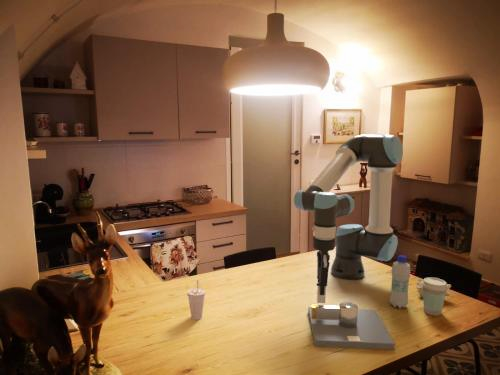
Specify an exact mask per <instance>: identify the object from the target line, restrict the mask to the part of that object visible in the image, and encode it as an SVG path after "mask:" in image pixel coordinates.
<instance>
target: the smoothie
mask: <svg viewBox="0 0 500 375" xmlns="http://www.w3.org/2000/svg"><path fill="white" fill-rule="evenodd" d="M186 293H187V294H186V295H187V297H188V303H189V310H190V317H191V318H190V319H192V320H193V321H198V320H201V319H202V318H203V311H204V304H205V296H206V290H205V289H204V288H201V287H199V279H196V287H193V288H190V289H188V290H187V292H186Z"/></svg>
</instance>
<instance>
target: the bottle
mask: <svg viewBox="0 0 500 375" xmlns="http://www.w3.org/2000/svg"><path fill="white" fill-rule="evenodd" d="M407 260H408V259H407V256H406V255H403V254H402V255H401V254H400V255H399V254H398V256H397V257H396V261H394V262H392V266H391V288H390V290H391V291H390V295H389V296H390V297H389V303H390V305H391V306H393V308H398V309H401V308H402V309H405V308H406V307H407V306H408V303H409V283H410V282H409V281H410V278H411V273H412V272H411V264H410V263H408V262H407Z"/></svg>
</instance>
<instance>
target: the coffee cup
mask: <svg viewBox="0 0 500 375" xmlns="http://www.w3.org/2000/svg"><path fill="white" fill-rule="evenodd" d="M422 280H423V282H422V286H423V297H422V300H423V302H422V303H423V304H422V305H423V312H424V313H426V314H427V315H430V316H433V317H434V316H436V317H437V316H441V315H442V312H443V308H444V305H445V304H444V303H445V299H446V296H445V295H446V290H447V289H448V288H447V287H448V286H447V284H448V282H446V281H445V280H444V279H440V278H439V277H430V276H429V277H425V278H424V279H422ZM448 290H449V289H448ZM448 290H447V291H448Z"/></svg>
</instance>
